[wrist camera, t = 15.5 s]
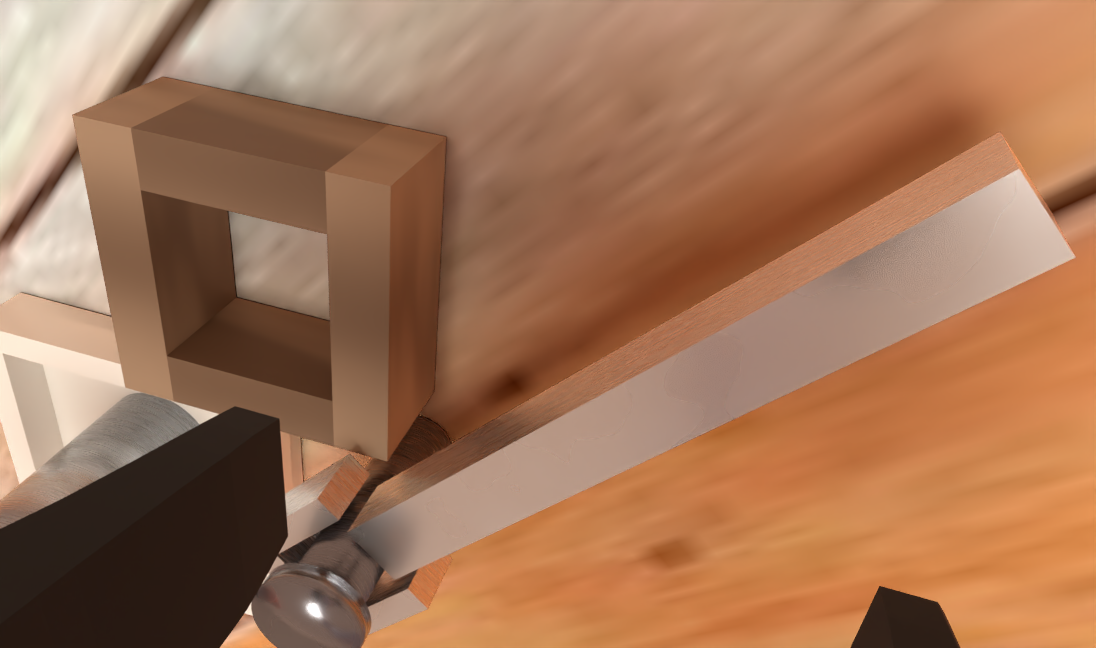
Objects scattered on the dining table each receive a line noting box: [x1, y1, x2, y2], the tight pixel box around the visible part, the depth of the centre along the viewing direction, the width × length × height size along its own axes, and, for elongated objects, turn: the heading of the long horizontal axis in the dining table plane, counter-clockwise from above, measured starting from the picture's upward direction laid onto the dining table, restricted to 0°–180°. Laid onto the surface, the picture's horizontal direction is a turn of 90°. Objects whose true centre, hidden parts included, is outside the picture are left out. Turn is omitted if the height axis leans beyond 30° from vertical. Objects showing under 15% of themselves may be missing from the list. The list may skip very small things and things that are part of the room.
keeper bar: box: [269, 132, 1076, 635], centre depth 17 cm, size 18×4×2 cm, turn 131°
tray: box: [0, 293, 303, 616], centre depth 27 cm, size 9×9×2 cm
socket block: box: [72, 77, 446, 461], centre depth 21 cm, size 7×7×3 cm
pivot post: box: [251, 416, 451, 648], centre depth 22 cm, size 3×3×7 cm
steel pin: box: [0, 393, 200, 529], centre depth 23 cm, size 4×4×9 cm
